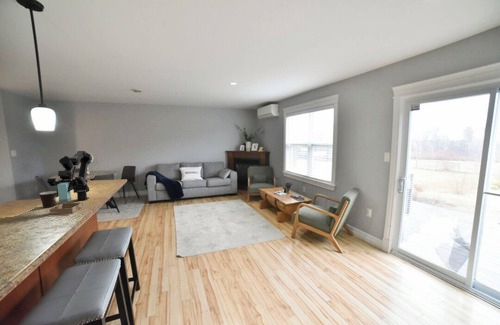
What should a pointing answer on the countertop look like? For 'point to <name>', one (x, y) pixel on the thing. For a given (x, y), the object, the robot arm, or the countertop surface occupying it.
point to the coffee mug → (48, 199)
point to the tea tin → (63, 192)
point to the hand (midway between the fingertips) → (63, 192)
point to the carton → (65, 209)
